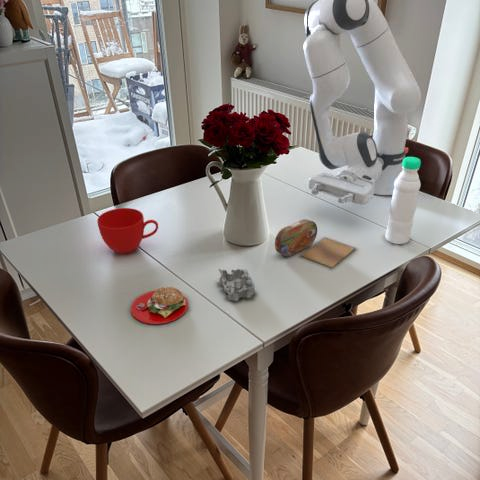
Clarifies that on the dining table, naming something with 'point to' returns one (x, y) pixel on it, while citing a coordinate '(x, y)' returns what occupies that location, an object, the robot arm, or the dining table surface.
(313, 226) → the tin
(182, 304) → the hamburger
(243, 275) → the grey lumpy block
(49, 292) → the dining table surface
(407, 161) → the water bottle
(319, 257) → the cork mat
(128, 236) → the ceramic cup
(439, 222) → the dining table surface
